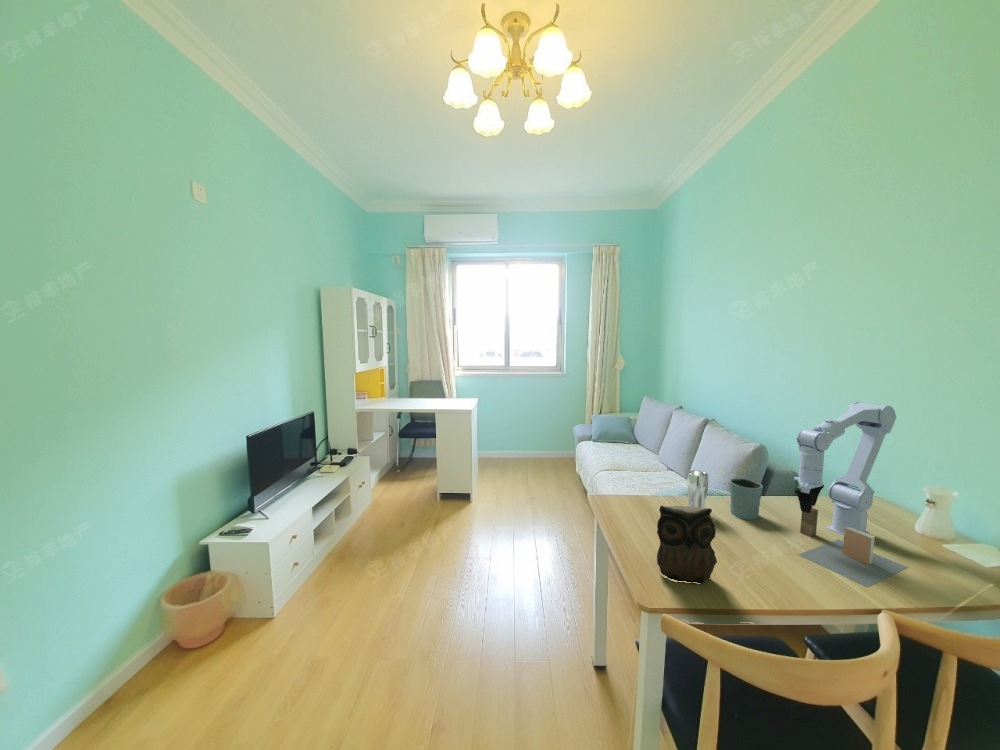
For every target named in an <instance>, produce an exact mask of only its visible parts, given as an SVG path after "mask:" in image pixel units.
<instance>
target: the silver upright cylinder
mask: <svg viewBox="0 0 1000 750" xmlns="http://www.w3.org/2000/svg"><path fill="white" fill-rule="evenodd" d="M686 481H687V482H686V487H687V488H686V489H687V495H688V504H687V506H691V507H698V508H706V507H705V506H706V505H705V503H706V499H707V495H708V493H709V492H708V491H709V485H710V484H709V474H708V473H707V472H705V471H701V470H696V469H694V470H693V469H692V470H689V471H688V474H687V480H686Z"/></svg>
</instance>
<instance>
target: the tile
mask: <svg viewBox="0 0 1000 750" xmlns="http://www.w3.org/2000/svg"><path fill="white" fill-rule="evenodd" d="M875 539H876V536H875V535H872V534H866V533H864V532H861V531H858V530H855V529H853V528H850V527H847V528H845V532H844V535H843V541H844V543H843V553H842V554H844V555H847V556H849V557H851V558H854V559H856V560H858V561H861V562H863V563H865V564H868V565H869V564H872V560H873V553H874V549H875Z"/></svg>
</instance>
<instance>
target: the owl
mask: <svg viewBox="0 0 1000 750" xmlns="http://www.w3.org/2000/svg"><path fill="white" fill-rule="evenodd" d="M712 510H713V509H712V508H710V507H709V508H707V507H705V508H698V507H691V506H688V505H687V506H685V505H669V506H664V505H662V504H661V505H660V507H659V513H660V516H659V518H658V520H657V527H656V529H657V531H656V534H657V536H658V539H659V547H658V549H657V554H656V562H657V565H658V567H659V572H660V571H661V573H662V574H663V575H665V576H667V577H668V578H670V579H674V580H677V581H686V582H697V583H702V584H704V583H705V582H706V581H705V580H707V579H709V578H710V579H711V576H712V574H713V571H714V569H715V566H716V565H717V563H718V561H717V557H716V551H715V550H714V549H713V547H712V541H713V540H714V539H715V537H716V527H715V526H716V524H715V522H714V521H713V519H712V517H711V513H712ZM704 581H705V582H704ZM707 581H708V580H707ZM703 582H704V583H703Z"/></svg>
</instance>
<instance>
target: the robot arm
mask: <svg viewBox="0 0 1000 750" xmlns="http://www.w3.org/2000/svg"><path fill="white" fill-rule="evenodd" d="M896 419H897V414H896V411H895V409H894V408H893V406H891V405H881V404H874V403H867V402H861V401H854V402H852V404H849V405H848V408H847V411H846V412H844V413H843V414H841V415H839V417H837V418H836V419H833V418H830V419H829V418H826V419H825V420H824V421H822V422H821V423H819V424H818V425H816V426H814V427H813V428H811V429H809V428H805V429H802V430H801V431H800V432H799V433H798V435H797V437H796V442H797V445H798V450H799V451H800V458H799V472H798V476H794V478H793V480H794V481H797V482H798V483H799V485H800V487H795V488H794V493H795V494H796V496H797V499H798V502H799V508H800V511H801V513H802V512H806V513H810V512H811V509H812V508H813V507H814V506H816V504H817V500H818V497H819V495H820V493H821V491H822V490H823V489H824V487H825V485H824V482H823V473H824V463H825V462H824V461H825V451H828V449H829V448H830V446H831V444H832V443H833V441H834V440H836V439H837V438H840V436H843V435H845V433H846V429H847V428H849V427H852V426H853V425H855V426H856V428H858V429H860V430H861V431H862V434H861V437H860V439H859V441H858V444H857V446H856V449H855V451H854V453H853V456H852V458H851V461H850V463H849V466H848V468H847V471H846V473H845V474H844V475H841V476H837V477H835V479H834V480H833V482H832V484H830V485H829V487H828V490H827V496H828V497H829V499H830V500H831V503H833V511H832V512H833V513H832V522H831V525H827V526H826V527H825V528H826V529H828V530H830V531H832V532H836V534H837V533H838V534H840V535H843V536H844V532H845V528H847V527H850V528H853V529H855V530H858V531H861V532H864V533H866V534H869V535H871V533H870V532H869V531H867V526H868V518H869V517H868V516H869V515H868V514H869V513H868V511H867V510H869V509H871V507H872V506H873V500H874V499H873V498H874V493H875V490H874V489H873V488H872V487H871V486H870V484H868V482H867V481H868V479H869V476H870V474H871V471H872V469H873V467H874V464H875V462H876V459H877V456H878V455H879V452H880V450H881V447H882V445H883V443H884V439H885V437H886V435H887V434H890V433H891V431H892V430H893V427H894V425H895V423H896Z"/></svg>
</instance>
